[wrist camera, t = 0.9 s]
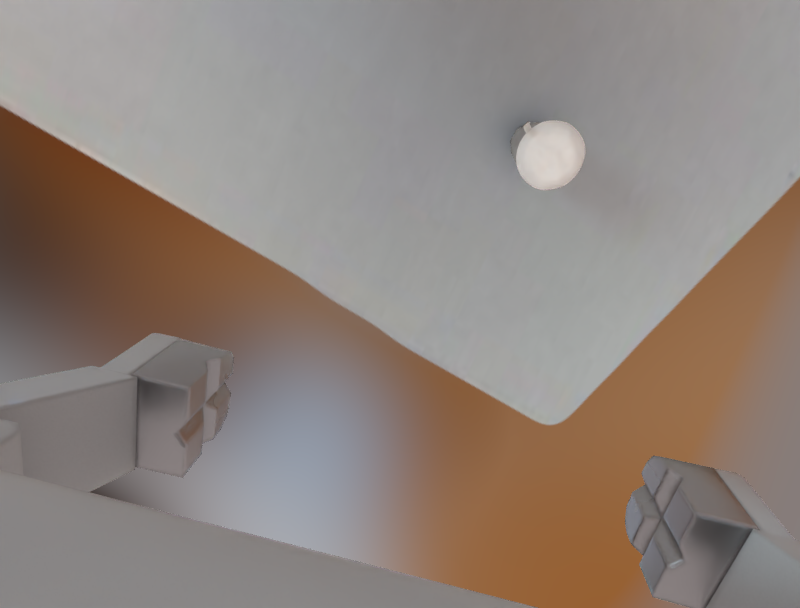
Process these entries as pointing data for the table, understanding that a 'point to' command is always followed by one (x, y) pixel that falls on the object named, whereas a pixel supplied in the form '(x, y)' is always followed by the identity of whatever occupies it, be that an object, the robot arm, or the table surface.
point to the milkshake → (547, 153)
